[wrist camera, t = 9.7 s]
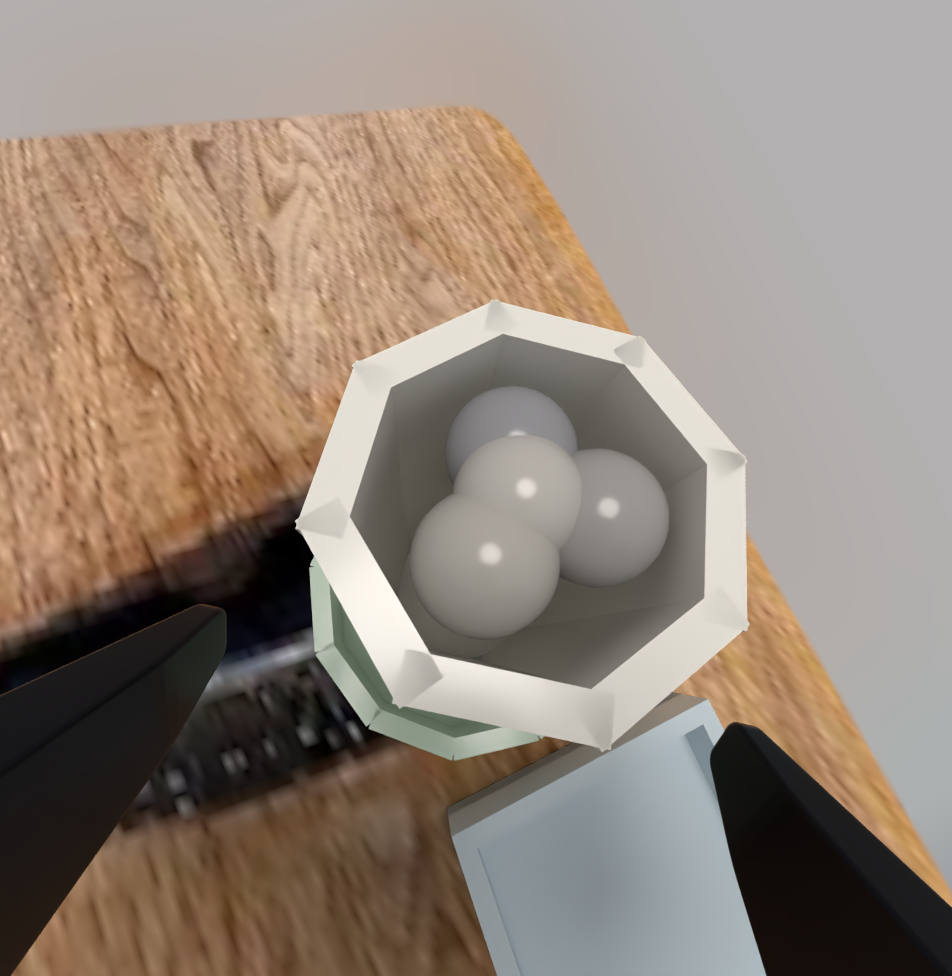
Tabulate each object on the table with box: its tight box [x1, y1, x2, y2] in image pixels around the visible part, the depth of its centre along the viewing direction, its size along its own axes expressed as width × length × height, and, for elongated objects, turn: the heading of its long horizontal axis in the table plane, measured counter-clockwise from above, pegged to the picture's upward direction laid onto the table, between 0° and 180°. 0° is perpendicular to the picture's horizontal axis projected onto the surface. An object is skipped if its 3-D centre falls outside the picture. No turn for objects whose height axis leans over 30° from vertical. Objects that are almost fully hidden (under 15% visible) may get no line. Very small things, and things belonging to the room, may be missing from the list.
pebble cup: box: [295, 299, 750, 752], centre depth 12 cm, size 6×6×12 cm
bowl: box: [309, 556, 544, 761], centre depth 17 cm, size 10×10×3 cm
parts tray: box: [447, 692, 766, 976], centre depth 14 cm, size 10×10×2 cm
